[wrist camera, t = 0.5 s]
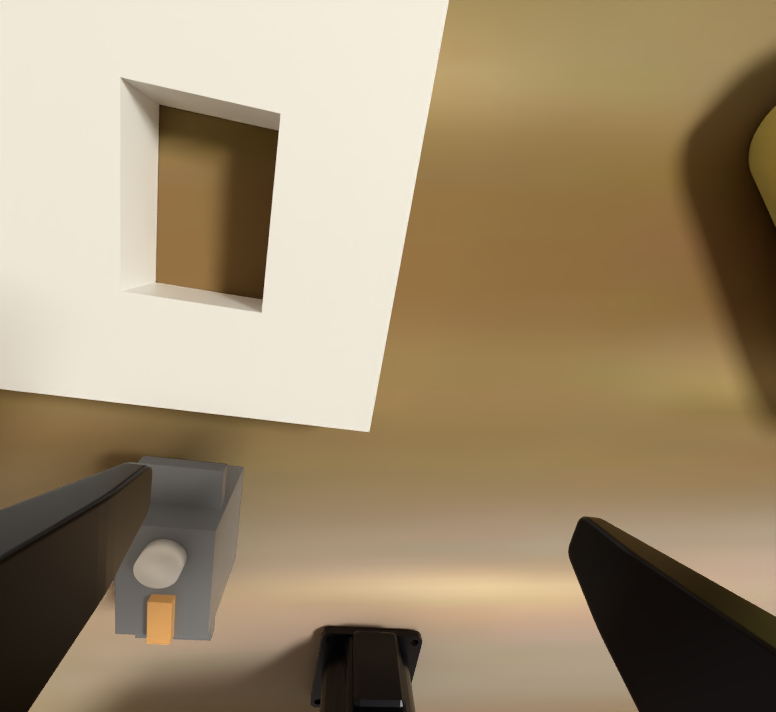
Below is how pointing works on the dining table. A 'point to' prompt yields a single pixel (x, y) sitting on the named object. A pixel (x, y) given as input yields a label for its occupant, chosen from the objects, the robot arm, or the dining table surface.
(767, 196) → the plastic component
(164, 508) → the servo
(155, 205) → the white square base plate
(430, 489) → the dining table surface
